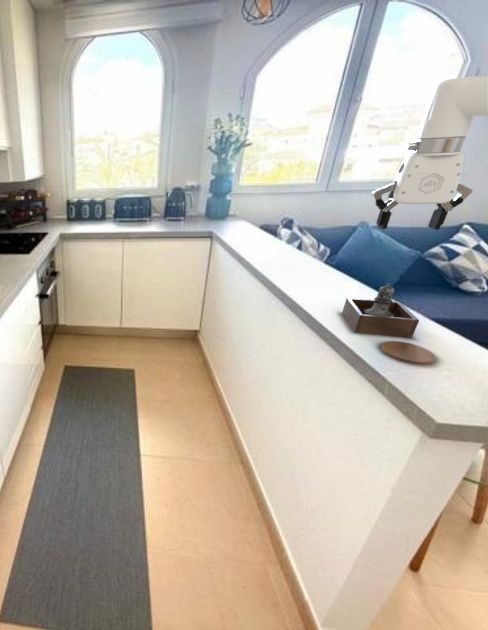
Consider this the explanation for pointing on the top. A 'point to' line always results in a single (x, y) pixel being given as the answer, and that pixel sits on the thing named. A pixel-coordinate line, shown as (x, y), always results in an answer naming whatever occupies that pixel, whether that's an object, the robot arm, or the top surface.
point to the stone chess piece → (382, 302)
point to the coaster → (408, 352)
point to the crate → (379, 319)
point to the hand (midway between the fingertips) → (406, 228)
